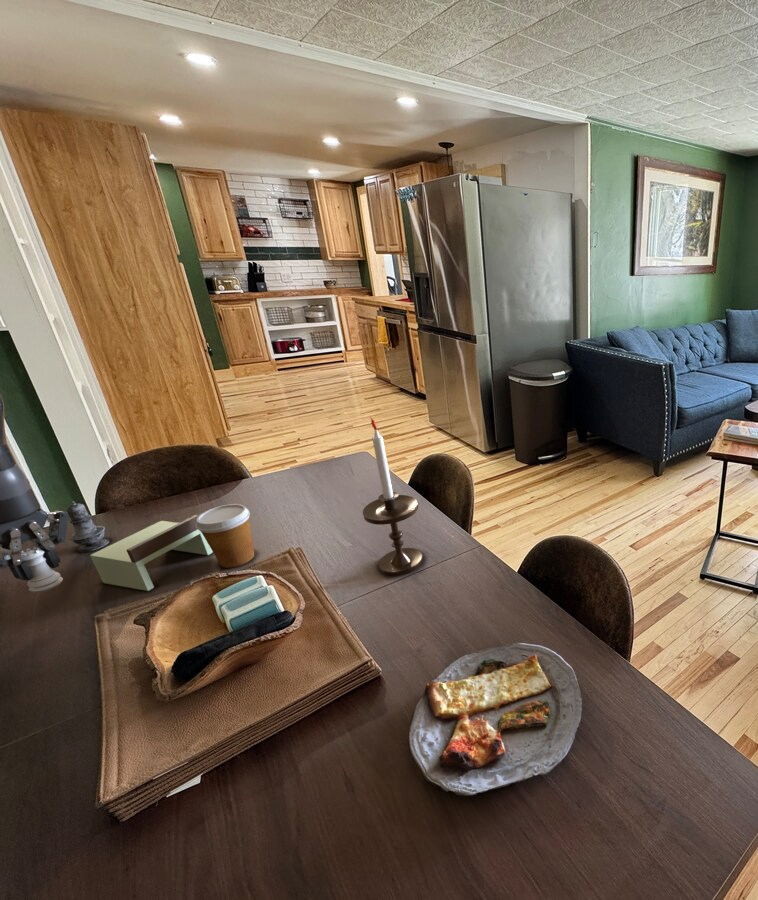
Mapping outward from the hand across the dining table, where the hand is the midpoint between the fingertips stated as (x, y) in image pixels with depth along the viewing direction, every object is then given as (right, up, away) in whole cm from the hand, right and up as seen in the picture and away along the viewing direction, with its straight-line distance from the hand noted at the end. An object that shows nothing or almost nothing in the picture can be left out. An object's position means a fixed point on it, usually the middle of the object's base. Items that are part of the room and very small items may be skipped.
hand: (40, 572), depth 90 cm
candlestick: (+62, -2, +17) cm, 64 cm away
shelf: (+9, -3, +15) cm, 18 cm away
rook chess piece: (0, -3, +1) cm, 3 cm away
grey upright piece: (-14, 0, +22) cm, 26 cm away
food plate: (+91, -17, -18) cm, 95 cm away
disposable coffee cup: (+24, -2, +18) cm, 30 cm away
